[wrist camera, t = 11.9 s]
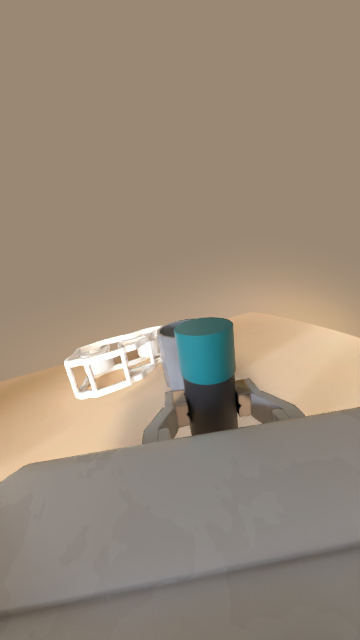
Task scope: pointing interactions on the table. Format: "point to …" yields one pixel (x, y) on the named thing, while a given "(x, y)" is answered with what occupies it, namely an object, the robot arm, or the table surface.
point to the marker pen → (208, 373)
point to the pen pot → (170, 355)
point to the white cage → (101, 361)
